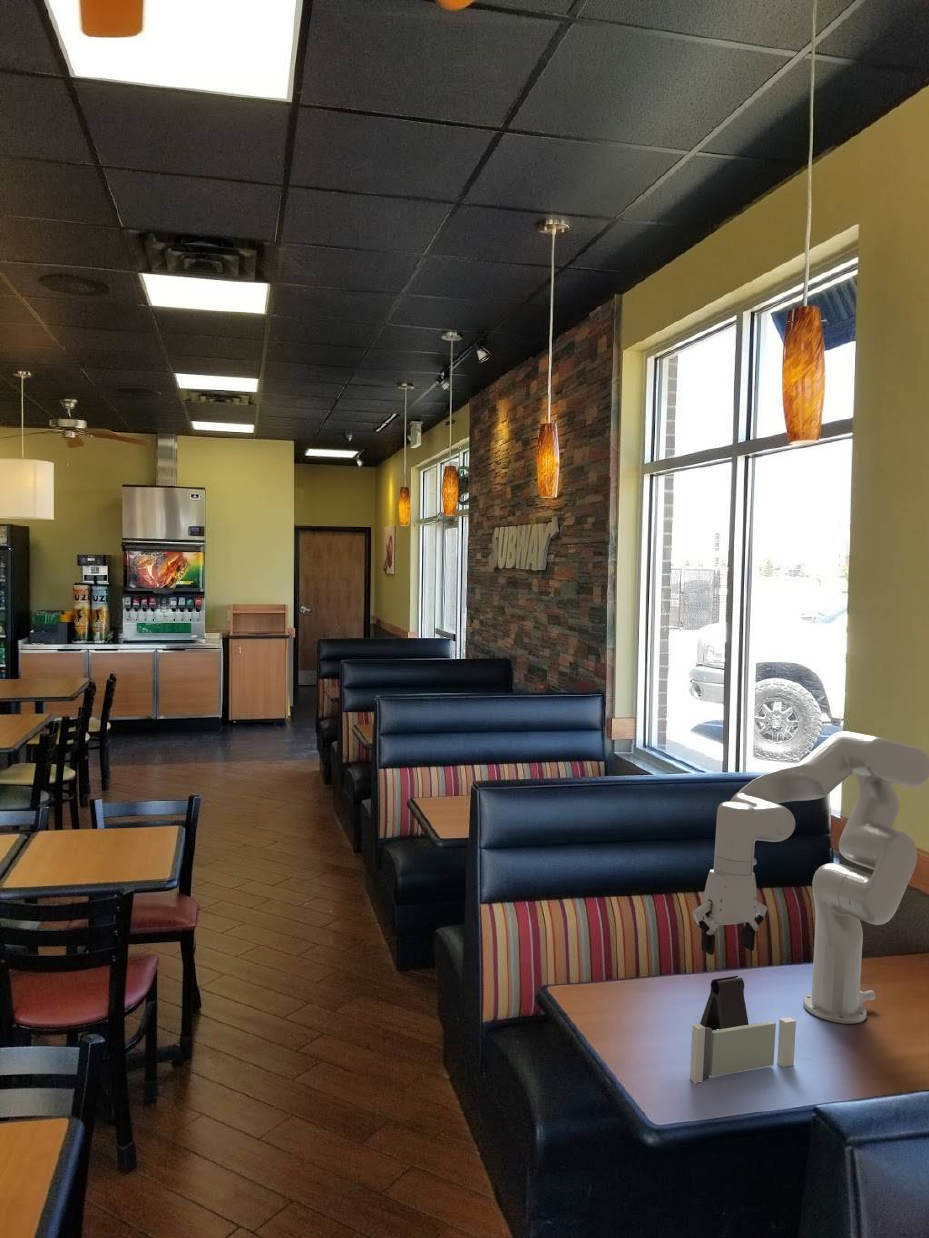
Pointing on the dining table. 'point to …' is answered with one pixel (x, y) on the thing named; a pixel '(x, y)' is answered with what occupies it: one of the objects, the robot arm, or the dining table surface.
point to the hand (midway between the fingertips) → (727, 950)
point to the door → (738, 1048)
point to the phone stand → (725, 1004)
